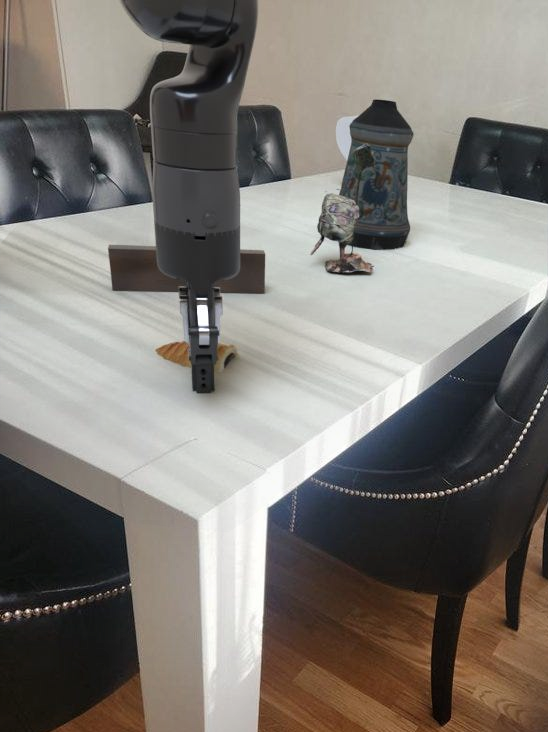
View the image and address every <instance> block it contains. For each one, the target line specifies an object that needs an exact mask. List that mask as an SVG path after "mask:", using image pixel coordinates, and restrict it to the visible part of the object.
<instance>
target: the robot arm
mask: <svg viewBox="0 0 548 732" xmlns="http://www.w3.org/2000/svg"><path fill="white" fill-rule="evenodd" d="M118 1H119V3H120V6H121V7H122V8H123V10H124V12H125V14H126V15H127V16H128V18H129V19H130V20H131V21H132V22H133V24H134V25H135V26H136V27H137V28H138V29H139V30H140V31H141V32H143V34H145V35H147V36H148V37H149V38H151V39H153V40H155V41H159V42H161V43H168V44H178V45H179V44H180V45H189V46H188V50H187V54H186V59H185V63H184V66H183V69H182V71H181V73H180V74H178V75H176V76H174V77H171V78H168V79H164V80H161V81H159V82H157V83H156V84H155V85H154V86H152V88H151V90H150V95H149V118H150V120H149V121H150V132H151V133H150V135H151V149H152V151H151V153H152V159H153V160H152V180H151V189H152V190H151V195H152V209H153V223H154V240H155V241H154V242H155V246H156V255H157V266H158V268H159V270H160V271H161V272H162V273H164V274H165V275H167V276H169V277H172V278H175V279H179V278H180V279H182V280H185V281H187V285H186V287H184V286H179V292H178V302H179V314H180V316H181V317H182V328H183V329H182V330H183V341H185V342H186V343H188V344H189V347H188V353H189V352H190V354H188V356H189V361H190V363H191V368H190V369H191V371H190V372H191V388H192V392H196V393H197V394H206V393H207V394H211V393H212V392H215V388H216V387H215V372H214V364H216V363H217V361H218V356H217V346H218V343H220V342H221V317H222V316H223V313H224V312H223V311H224V308H223V307H224V306H223V296H222V295H221V293H220V287H214V283H215V282H217V281H220V280H227V279H230V278H233V277H234V276H236V275H237V274H238V273H239V270H240V249H241V190H240V189H241V188H240V182H239V173H238V172H239V170H238V113H239V112H238V111H239V106H240V102H241V100H242V96H243V93H244V92H243V91H244V87H245V84H246V79H247V75H248V70H249V66H250V61H251V56H252V52H253V48H254V43H255V39H256V34H257V30H258V29H257V28H258V21H259V0H118Z"/></svg>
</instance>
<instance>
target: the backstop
mask: <svg viewBox="0 0 548 732" xmlns="http://www.w3.org/2000/svg"><path fill="white" fill-rule="evenodd" d="M107 251H108V253H107V254H108V260H109V261H108V263H109V269H110V280H111V287H112V291H113V292H114V291H115V292H116V291H118V292H119V291H120V292H121V291H122V292H169V293H173V292H174V293H179V286H184V287H186V285H187V281H185V280H182V279H180V278H179V279H175V278H172V277H169V276H167V275H165V274H164V273H162V272H161V271H160V270H159V268H158V266H157V255H156V245H136V244H135V245H134V244H133V245H132V244H130V245H129V244H108V246H107ZM265 286H266V253H265V250H264V249H241V248H240V270H239V273H238V274H237V275H236V276H234V277H233V278H230V279H227V280H220V281H217V282H215V283H214V287H220V293H223V294H265V293H266V292H265V291H266V289H265V288H266V287H265Z"/></svg>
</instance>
